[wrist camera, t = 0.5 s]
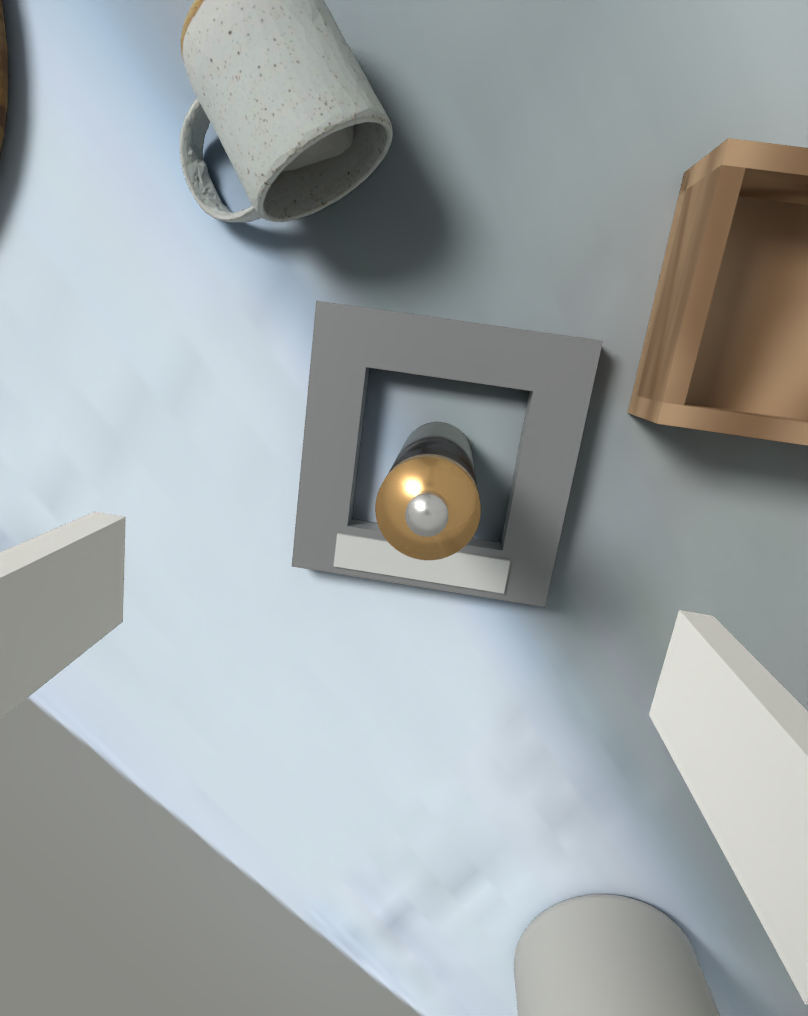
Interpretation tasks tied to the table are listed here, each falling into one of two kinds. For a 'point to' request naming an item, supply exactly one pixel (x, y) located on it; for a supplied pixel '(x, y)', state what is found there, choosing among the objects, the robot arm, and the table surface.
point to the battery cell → (430, 494)
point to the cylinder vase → (608, 962)
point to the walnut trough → (733, 299)
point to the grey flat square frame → (458, 356)
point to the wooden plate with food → (3, 76)
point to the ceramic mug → (278, 107)
